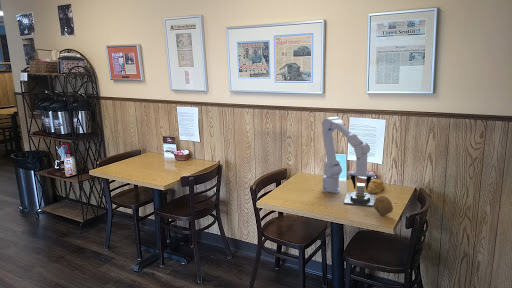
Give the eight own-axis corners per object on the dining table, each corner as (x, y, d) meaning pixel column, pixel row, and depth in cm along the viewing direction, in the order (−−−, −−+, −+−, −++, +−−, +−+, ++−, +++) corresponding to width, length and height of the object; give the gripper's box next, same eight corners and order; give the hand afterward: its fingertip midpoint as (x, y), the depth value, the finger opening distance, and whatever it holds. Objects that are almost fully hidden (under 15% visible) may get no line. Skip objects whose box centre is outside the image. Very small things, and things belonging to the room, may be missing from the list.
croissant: (371, 201, 219) (378, 191, 215) (357, 191, 224) (363, 180, 220) (384, 190, 236) (391, 180, 232) (371, 180, 240) (377, 170, 236)
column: (356, 196, 210) (356, 185, 209) (356, 193, 214) (357, 182, 213) (364, 197, 209) (364, 186, 208) (364, 194, 213) (365, 183, 212)
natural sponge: (370, 211, 197) (371, 193, 195) (387, 210, 198) (388, 192, 195) (376, 218, 188) (377, 199, 186) (394, 217, 189) (395, 198, 186)
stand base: (343, 204, 208) (344, 197, 207) (347, 194, 222) (347, 188, 221) (374, 207, 202) (374, 200, 202) (375, 196, 217) (376, 190, 216)
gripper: (347, 166, 206) (346, 190, 210) (375, 168, 202) (374, 192, 205) (348, 163, 213) (347, 186, 216) (375, 164, 208) (374, 188, 211)
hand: (360, 189), depth 211 cm, fingers open, 6 cm apart
